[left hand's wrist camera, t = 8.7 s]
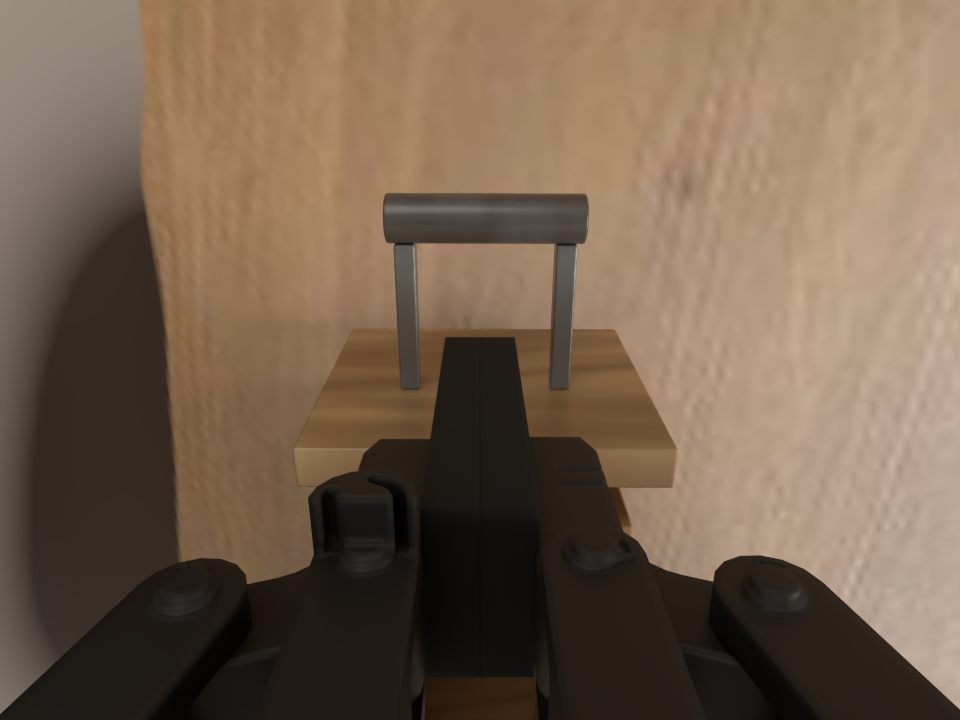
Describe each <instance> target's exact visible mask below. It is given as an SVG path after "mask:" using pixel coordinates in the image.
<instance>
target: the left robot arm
mask: <svg viewBox="0 0 960 720" xmlns="http://www.w3.org/2000/svg"><path fill="white" fill-rule="evenodd" d="M308 501H309V510H310V520H311V529H312V538H313V548H314V556H313V559H312V562H311V564H310V566H309V567H307V568H304V569H302V570H300V571H298V572H296V573H293V574H289V575H286V576H283V577H279V578H275V579H270V580H266V581H261V582H257V583H252V584H247V581H246V575H245V573H244V572H243V571H242V570H241V569H240V568H239V567H238V566H237V565H236V564H234V563H231V562H228V561H225V560H222V559H204V558H200V559H195V560H190V561H185V562H180V563H177V564H174V565H172V566H170V567H167V568H165V569H163V570H160V571H158V572H156V573H155V574H153V575H152V576H150V577H149V578H148V579H146V580H145V581H143V582H142V583H141V584H139V585H138V586H137V587H136V588H135V589H134V590H133V591H131V592H130V593H129V594H128V595H127V596H126V597H125V598H124V599H123V600H122V601H121V602H120V603H119V604H118V605H117V606H115V607H114V608H113V609H112V610H111V611H110V612H109V613H108V614H107V615H106V616H105V617H104V618H103V619H102V620H100V621H99V622H98V623H97V624H96V625H95V626H94V627H93V628H92V629H91V630H90V631H89V632H88V633H87V634H86V635H84V636H83V637H82V638H81V639H80V640H79V641H78V642H77V643H76V644H75V645H74V646H73V647H72V648H71V649H70V650H69V651H67V652H66V653H65V654H64V655H63V656H62V657H61V658H60V659H59V660H58V661H57V662H56V663H55V664H53V665H52V666H51V667H50V668H49V669H48V670H47V671H46V672H45V673H44V674H43V675H42V676H41V677H40V678H39V679H37V680H36V681H35V682H34V683H33V684H32V685H31V686H30V687H29V688H28V689H27V690H26V691H25V692H24V693H22V694H21V695H20V696H19V697H18V698H17V699H16V700H15V701H14V702H13V703H12V704H11V705H10V706H9V707H8V708H6V709H5V710H4V711H3V712H2V713H1V714H0V720H424V718H425V694H424V677H425V666H426V677H534V663H535V673H536V694H535V719H534V720H960V709H959V708H957V707H956V706H955V705H954V704H953V703H952V702H951V701H950V700H949V699H948V698H947V697H946V696H945V695H943V694H942V693H941V692H940V691H939V690H938V689H937V688H936V687H935V686H934V685H933V684H932V683H931V682H929V681H928V680H927V679H926V678H925V677H924V676H923V675H922V674H921V673H920V672H919V671H918V670H917V669H915V668H914V667H913V666H912V665H911V664H910V663H909V662H908V661H907V660H906V659H905V658H904V657H903V656H901V655H900V654H899V653H898V652H897V651H896V650H895V649H894V648H893V647H892V646H891V645H890V644H889V643H887V642H886V641H885V640H884V639H883V638H882V637H881V636H880V635H879V634H878V633H877V632H876V631H875V630H873V629H872V628H871V627H870V626H869V625H868V624H867V623H866V622H865V621H864V620H863V619H862V618H861V617H859V616H858V615H857V614H856V613H855V612H854V611H853V610H852V609H851V608H850V607H849V606H848V605H847V604H845V603H844V602H843V601H842V600H841V599H840V598H839V597H838V596H837V595H836V594H835V593H834V592H833V591H831V590H830V589H829V588H828V587H827V586H826V585H825V584H824V583H823V582H822V581H820V580H819V579H817V578H816V577H815V576H813V575H812V574H810V573H809V572H807V571H806V570H805V569H803V568H800V567H798V566H796V565H793V564H791V563H788V562H786V561H784V560H780V559H775V558H770V557H765V556H739V557H736V558H733V559H730V560H727V561H724V562H723V563H722V564H721V566H720V567H719V568H718V569H717V570H716V571H715V575H714V581H713V582H712V581H707V580H703V579H698V578H693V577H689V576H684V575H680V574H677V573H673V572H670V571H667V570H664V569H662V568H660V567H657V566H655V565H653V564H651V563H649V561H648V558H647V555H646V553H645V551H644V550H643V548H642V547H641V546H640V544H639V543H638V541H637V540H635V539H634V538H632V537H631V536H629V535H628V534H626V533H625V532H624V531H623V529H622V526H621V523H620V520H619V517H618V514H617V511H616V508H615V505H614V502H613V499H612V496H611V493H610V490H609V487H608V485H607V481H606V478H605V475H604V472H603V471H602V466H601V463H600V460H599V457H598V454H597V451H596V450H595V449H593V448H592V447H591V446H590V445H589V444H588V443H586V442H585V441H584V440H583V439H582V438H581V437H529V430H528V423H527V417H526V410H525V403H524V396H523V390H522V383H521V376H520V369H519V363H518V356H517V349H516V342H515V337H445V342H444V349H443V356H442V363H441V369H440V376H439V383H438V390H437V396H436V403H435V410H434V416H433V423H432V430H431V437H430V439H380V440H378V441H377V442H376V443H375V444H374V445H373V446H371V447H370V448H369V449H368V450H367V451H366V452H365V453H364V454H363V457H362V460H361V463H360V466H359V469H358V471H355V472H349V473H346V474H342V475H339V476H336V477H333V478H331V479H329V480H327V481H326V482H324V483H322V484H321V485H319V486H317V487H316V489H315V490H314V491H313V492H312V494H311V495H310V496H309V497H308Z"/></svg>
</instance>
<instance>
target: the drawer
mask: <svg viewBox="0 0 960 720" xmlns="http://www.w3.org/2000/svg"><path fill="white" fill-rule="evenodd" d="M588 224H589V205H588V198H587V195H586V194H515V193H387V194H385V197H384V202H383V228H384V236H385V240H386V242H387V243H395V245H394V266H395V287H396V307H397V328H398V329H353V330H352V332H351V334H350V336H349V338H348V340H347V342H346V344H345V346H344V348H343V350H342V352H341V354H340V356H339V358H338V360H337V362H336V364H335V366H334V368H333V370H332V372H331V374H330V376H329V378H328V380H327V382H326V384H325V386H324V388H323V390H322V392H321V394H320V396H319V398H318V400H317V402H316V404H315V406H314V408H313V410H312V412H311V414H310V416H309V418H308V420H307V422H306V424H305V426H304V428H303V430H302V432H301V434H300V436H299V438H298V440H297V442H296V444H295V446H294V448H293V455H294V463H295V472H296V480H297V485H298V486H314V487H317V486H319V485H321V484H322V483H324V482H326V481H327V480H329V479H331V478H333V477H336V476H339V475H342V474H346V473H349V472H355V471H358V469H359V466H360V463H361V460H362V457H363V454H364V453H365V452H366V451H367V450H368V449H369V448H370V447H371V446H373V445H374V444H375V443H376V442H377V441H378V440H380V439H430V437H431V430H432V423H433V416H434V410H435V403H436V396H437V390H438V383H439V376H440V369H441V363H442V356H443V349H444V342H445V337H515V342H516V349H517V356H518V363H519V369H520V376H521V383H522V390H523V396H524V403H525V410H526V417H527V423H528V430H529V437H581V438H582V439H583V440H584V441H585V442H586V443H588V444H589V445H590V446H591V447H592V448H593V449H595V450H596V451H597V454H598V457H599V460H600V463H601V466H602V471H603V472H604V475H605V478H606V481H607V485H608V487H609V490H610V493H611V496H612V499H613V502H614V505H615V508H616V511H617V514H618V517H619V520H620V523H621V526H622V529H623V531H624V532H625V533H626V534H628V535H629V536H631V537H632V532H633V527H632V524H631V521H630V518H629V515H628V512H627V509H626V506H625V503H624V500H623V497H622V494H621V491H620V488H619V487H633V488H671V487H673V484H674V476H675V469H676V462H677V454H678V449H677V447H676V445H675V444H674V442H673V440H672V438H671V436H670V434H669V432H668V430H667V428H666V426H665V424H664V423H663V421H662V419H661V417H660V415H659V413H658V411H657V409H656V407H655V405H654V403H653V402H652V400H651V398H650V396H649V394H648V392H647V390H646V388H645V386H644V384H643V382H642V381H641V379H640V377H639V375H638V373H637V371H636V369H635V367H634V365H633V363H632V361H631V360H630V358H629V356H628V354H627V352H626V350H625V348H624V346H623V344H622V342H621V340H620V339H619V337H618V335H617V333H616V331H615V330H577V329H573V315H574V298H575V282H576V265H577V249H578V247H577V245H576V244H583V243H585V241H586V238H587V233H588ZM416 243H465V244H555V249H554V270H553V291H552V313H551V329H419V309H418V280H417V251H416ZM424 694H425V718H424V720H534V719H535V694H536V673H535V663H534V677H426V666H425V677H424Z"/></svg>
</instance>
